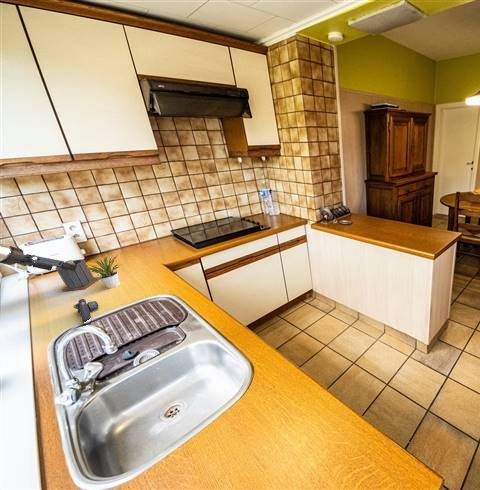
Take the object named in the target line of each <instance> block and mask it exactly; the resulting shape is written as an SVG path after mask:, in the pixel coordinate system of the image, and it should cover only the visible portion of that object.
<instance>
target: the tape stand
mask: <svg viewBox="0 0 480 490" xmlns="http://www.w3.org/2000/svg"><path fill="white" fill-rule="evenodd" d="M64 262H65V263H69V264H73V265H75V263H74V262H73V259H69V260H66V261H64ZM93 277H94V276H93ZM99 277H100V276H97V277H96V276H95V277H94V281H92V282H90V283H88V284H86V285H83V286H80V287H76V288H67V287H66V286H64V287H63V288H61V291H62V292H63V293H65V292H73V291H74V292H75V291H82V290H86V289H88V288H89V287H91V286H93V285H95V284H96V283H97V282H98V281H101V280H100V279H99Z"/></svg>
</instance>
